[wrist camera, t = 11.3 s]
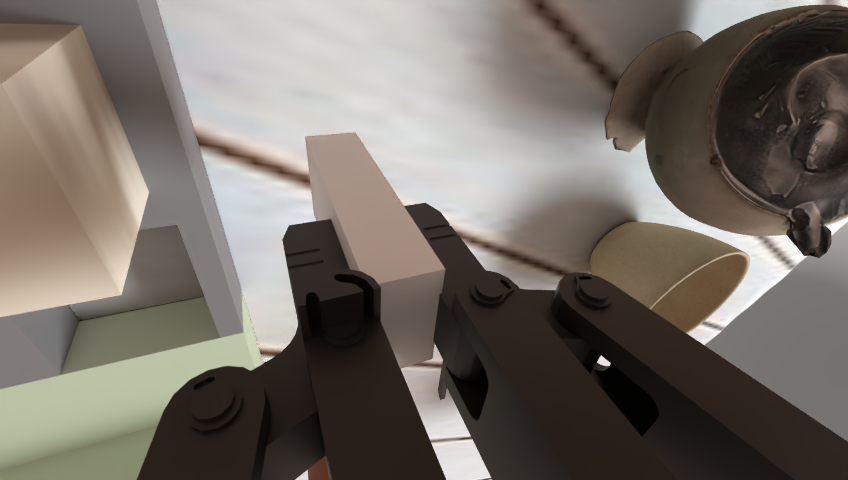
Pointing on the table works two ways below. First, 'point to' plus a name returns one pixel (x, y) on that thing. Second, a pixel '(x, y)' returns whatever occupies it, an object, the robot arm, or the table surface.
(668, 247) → the flower pot
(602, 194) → the table surface
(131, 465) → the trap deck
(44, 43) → the cream block
